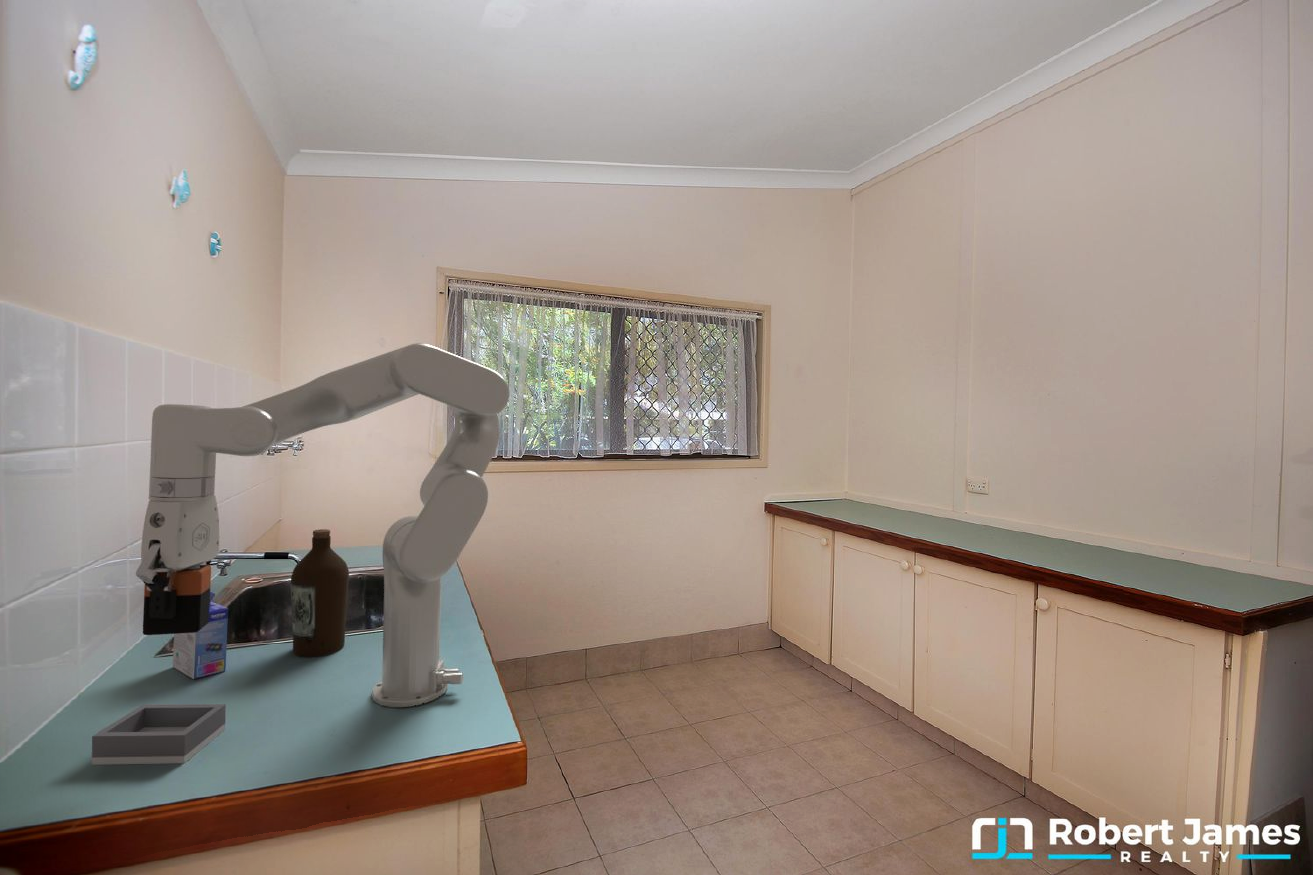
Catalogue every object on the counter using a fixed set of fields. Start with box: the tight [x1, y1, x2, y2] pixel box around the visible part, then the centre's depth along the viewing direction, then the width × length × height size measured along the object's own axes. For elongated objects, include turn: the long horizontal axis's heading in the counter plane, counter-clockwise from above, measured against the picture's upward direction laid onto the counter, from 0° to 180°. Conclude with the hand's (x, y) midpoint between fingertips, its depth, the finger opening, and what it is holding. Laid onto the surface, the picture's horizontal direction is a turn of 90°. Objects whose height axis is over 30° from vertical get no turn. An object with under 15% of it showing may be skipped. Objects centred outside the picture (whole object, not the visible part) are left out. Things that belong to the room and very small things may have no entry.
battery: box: [142, 563, 212, 636], centre depth 87 cm, size 4×7×10 cm, turn 109°
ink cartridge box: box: [172, 591, 229, 680], centre depth 112 cm, size 10×6×14 cm, turn 58°
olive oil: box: [290, 528, 350, 658], centre depth 124 cm, size 11×11×25 cm
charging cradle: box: [91, 703, 227, 766], centre depth 87 cm, size 12×9×4 cm
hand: (177, 609), depth 87 cm, fingers closed on battery, 5 cm apart
